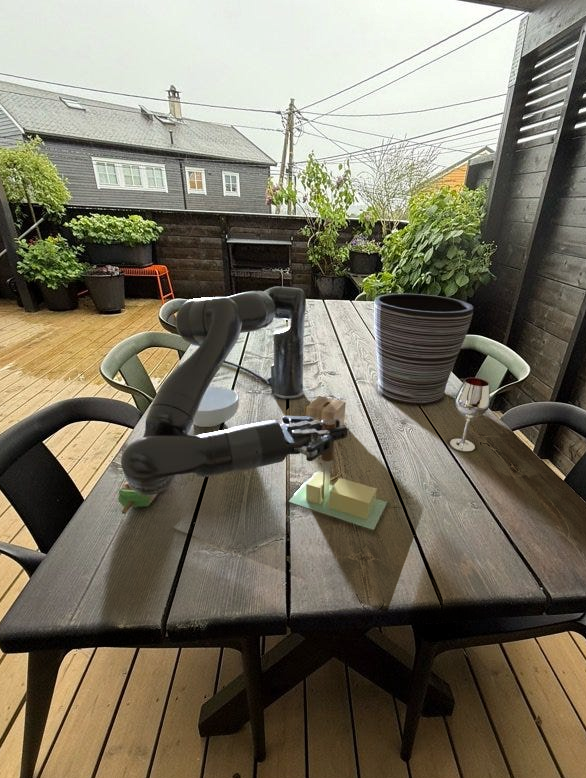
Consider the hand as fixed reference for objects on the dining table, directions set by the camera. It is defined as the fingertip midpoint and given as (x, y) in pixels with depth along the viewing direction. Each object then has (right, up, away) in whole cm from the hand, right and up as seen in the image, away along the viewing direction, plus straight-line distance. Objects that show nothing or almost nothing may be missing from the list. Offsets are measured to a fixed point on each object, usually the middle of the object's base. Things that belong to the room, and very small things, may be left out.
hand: (342, 427), depth 76 cm
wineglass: (+32, -6, +29) cm, 44 cm away
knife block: (-4, -1, +34) cm, 35 cm away
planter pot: (+24, +10, +60) cm, 66 cm away
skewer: (-39, -13, +7) cm, 42 cm away
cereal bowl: (-36, +1, +34) cm, 50 cm away
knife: (-3, -14, +5) cm, 15 cm away
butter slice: (-5, -14, +6) cm, 16 cm away
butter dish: (-1, -16, +5) cm, 17 cm away
